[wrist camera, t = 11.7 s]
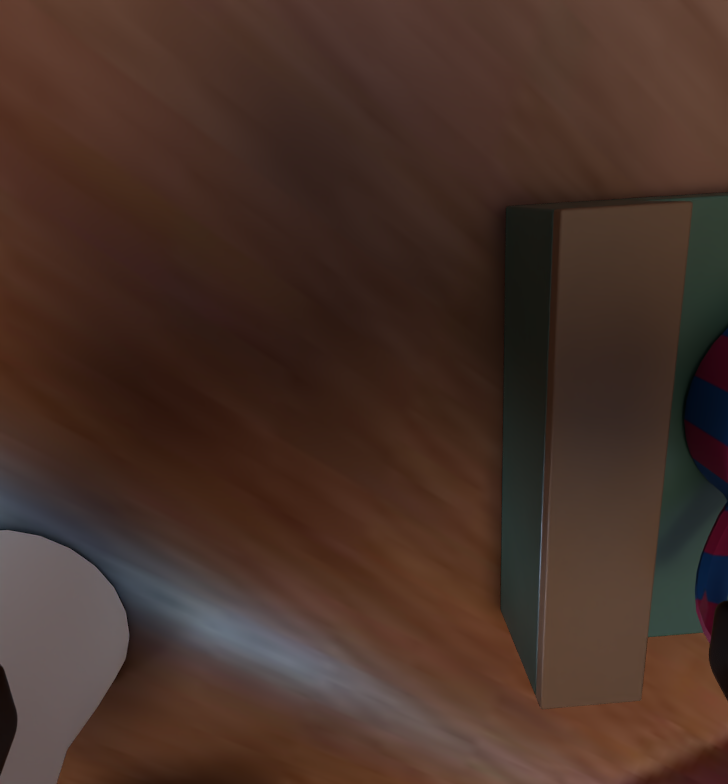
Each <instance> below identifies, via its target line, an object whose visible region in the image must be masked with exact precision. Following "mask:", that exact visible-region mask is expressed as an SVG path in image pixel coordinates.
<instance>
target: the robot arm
mask: <svg viewBox="0 0 728 784" xmlns="http://www.w3.org/2000/svg"><path fill="white" fill-rule="evenodd" d="M709 661H710V666H711V669H712V672H713V674H714V676H715V678H716V680H717V682H718V684H719V686H720V688H721V689H722V691H723V693H724V695H725V697H726V699H727V701H728V601H723V602H721V603H719V604H718V605H717V607H716V609H715V613H714V620H713V627H712V634H711V641H710V648H709ZM17 721H18V719H17V710H16V707H15V703H14V700H13V697H12V693H11V690H10V687H9V683H8V680H7V677H6V673H5V671H4V668H3V667H2V666H1V665H0V775H1V773H2V770H3V767H4V764H5V762H6V759H7V756H8V753H9V751H10V748H11V745H12V742H13V740H14V737H15V733H16V729H17Z"/></svg>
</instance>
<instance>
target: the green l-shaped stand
mask: <svg viewBox="0 0 728 784" xmlns="http://www.w3.org/2000/svg"><path fill="white" fill-rule="evenodd" d="M727 328H728V192H724V193H708V194H692V195H676V196H660V197H644V198H628V199H612V200H595V201H579V202H563V203H547V204H531V205H515V206H507V208H506V249H505V324H504V399H503V474H502V549H501V612H502V614H503V617H504V619H505V622H506V624H507V627H508V629H509V632H510V634H511V636H512V639H513V641H514V644H515V646H516V649H517V651H518V654H519V656H520V659H521V661H522V664H523V666H524V668H525V671H526V673H527V676H528V678H529V681H530V683H531V686H532V688H533V691H534V693H535V695H536V698H537V701H538V703H539V706H540V708H541V709H550V708H562V707H573V706H584V705H596V704H607V703H619V702H630V701H640V700H641V697H642V687H643V678H644V668H645V659H646V649H647V639H648V637H656V636H667V635H679V634H691V633H703V630H702V627H701V624H700V621H699V618H698V615H697V613H696V602H695V582H696V572H697V568H698V565H699V561H700V557H701V553H702V551H703V548H704V546H705V543H706V541H707V538H708V536H709V534H710V532H711V530H712V528H713V525H714V523H715V521H716V519H717V517H718V515H719V513H720V512H721V510H722V509H723V507H724V505H725V504H726V502H727V500H726V498H725V496H724V494H723V493H722V492H721V491H719V490H718V489H717V488H716V487H715V486H714V485H713V484H711V483H710V482H709V481H708V480H707V479H706V478H705V476H704V475H703V474H702V473H701V472H700V471H699V469H698V468H697V466H696V464H695V462H694V460H693V458H692V456H691V454H690V451H689V448H688V444H687V440H686V435H685V423H684V417H685V408H686V400H687V396H688V393H689V390H690V386H691V383H692V380H693V378H694V376H695V374H696V371H697V369H698V367H699V365H700V363H701V361H702V360H703V358H704V357H705V355H706V354H707V352H708V351H709V349H710V348H711V346H712V345H713V343H714V342H715V341H716V340H717V339H718V338H719V337H720V336H721V335H722V334H723V332H724V331H725V330H726V329H727ZM727 601H728V597H727Z"/></svg>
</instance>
